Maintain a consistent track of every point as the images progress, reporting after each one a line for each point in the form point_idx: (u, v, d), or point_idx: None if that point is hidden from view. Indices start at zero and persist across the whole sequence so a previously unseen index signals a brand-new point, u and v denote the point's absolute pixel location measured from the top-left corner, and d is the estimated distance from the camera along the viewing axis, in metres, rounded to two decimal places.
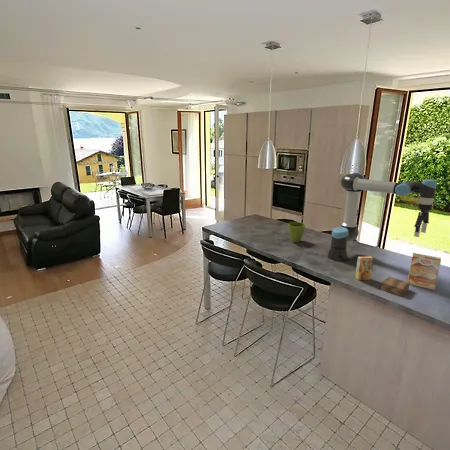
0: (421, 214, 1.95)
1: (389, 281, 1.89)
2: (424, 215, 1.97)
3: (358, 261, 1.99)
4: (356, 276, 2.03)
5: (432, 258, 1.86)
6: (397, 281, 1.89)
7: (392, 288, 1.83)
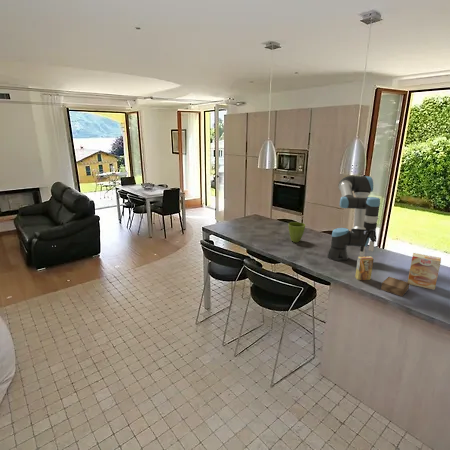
0: (365, 233, 1.89)
1: (389, 281, 1.88)
2: (369, 234, 1.91)
3: (358, 261, 1.99)
4: (356, 276, 2.03)
5: (432, 258, 1.86)
6: (397, 281, 1.89)
7: (393, 288, 1.83)
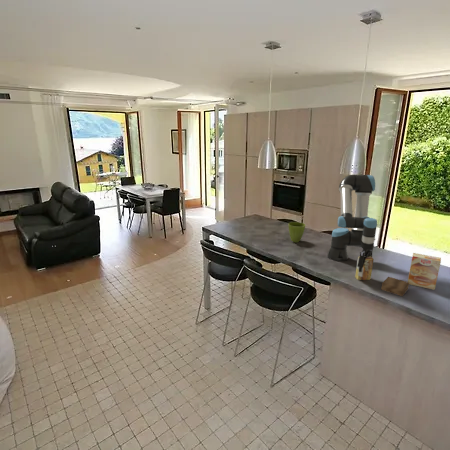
0: (362, 254, 1.93)
1: (389, 281, 1.88)
2: (366, 254, 1.95)
3: None
4: (356, 276, 2.03)
5: (432, 258, 1.86)
6: (396, 281, 1.89)
7: (393, 288, 1.83)
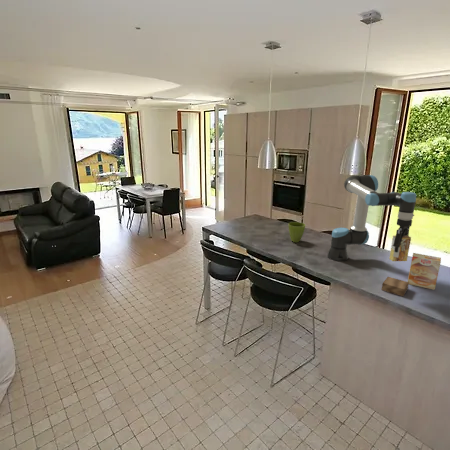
0: (399, 232, 1.74)
1: (389, 282, 1.88)
2: (403, 232, 1.76)
3: (393, 240, 1.80)
4: (391, 257, 1.83)
5: (432, 258, 1.86)
6: (396, 281, 1.90)
7: (394, 288, 1.83)
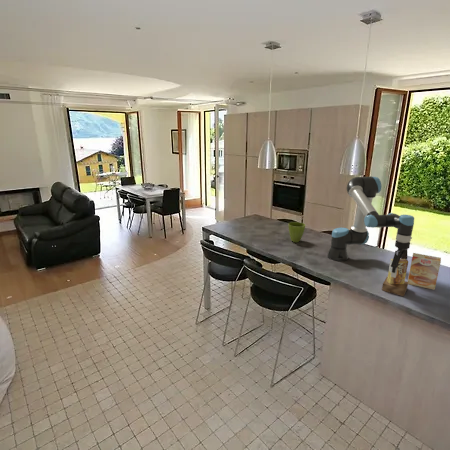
0: (398, 253, 1.77)
1: None
2: (401, 254, 1.79)
3: None
4: (388, 280, 1.87)
5: (432, 258, 1.86)
6: None
7: (394, 288, 1.83)
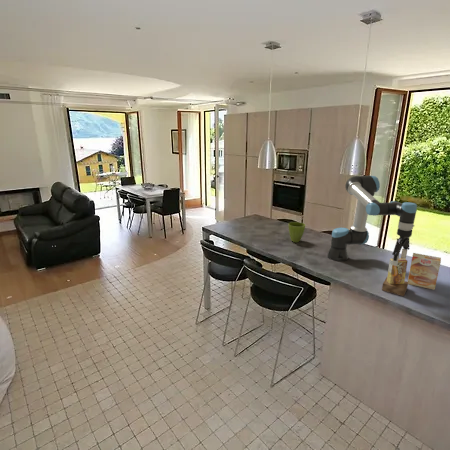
0: (399, 241, 1.75)
1: None
2: (403, 242, 1.77)
3: (390, 263, 1.84)
4: (388, 280, 1.87)
5: (432, 258, 1.86)
6: None
7: (394, 288, 1.83)
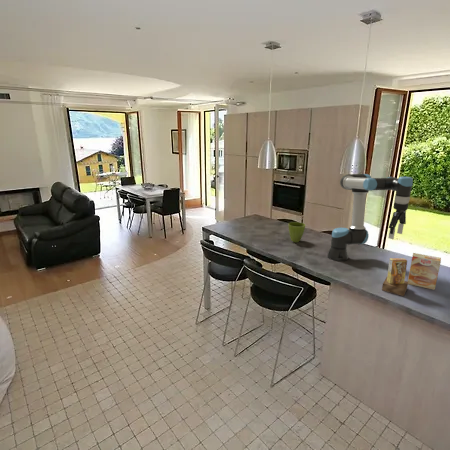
0: (396, 214, 1.79)
1: None
2: (399, 215, 1.82)
3: (390, 263, 1.85)
4: (388, 279, 1.87)
5: (432, 258, 1.86)
6: None
7: (394, 288, 1.83)
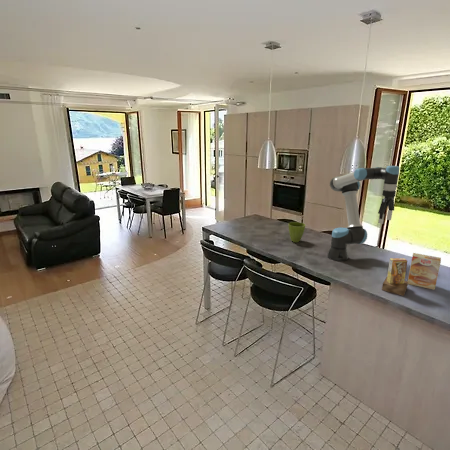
0: (384, 200, 1.94)
1: None
2: (388, 202, 1.96)
3: (390, 263, 1.85)
4: (388, 279, 1.88)
5: (432, 258, 1.86)
6: None
7: (394, 288, 1.83)
